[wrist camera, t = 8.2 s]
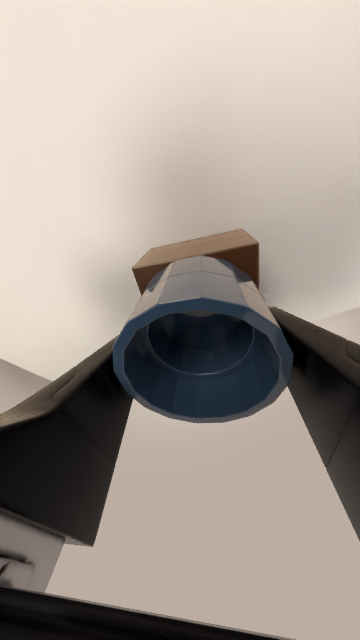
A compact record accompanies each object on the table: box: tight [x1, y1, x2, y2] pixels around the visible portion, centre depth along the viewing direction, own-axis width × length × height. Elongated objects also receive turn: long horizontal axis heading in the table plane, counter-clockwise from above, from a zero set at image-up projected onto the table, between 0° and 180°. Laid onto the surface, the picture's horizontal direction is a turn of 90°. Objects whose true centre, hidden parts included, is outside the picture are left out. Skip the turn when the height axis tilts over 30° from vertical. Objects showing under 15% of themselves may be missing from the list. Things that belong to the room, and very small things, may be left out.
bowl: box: [113, 256, 294, 423], centre depth 8 cm, size 6×6×4 cm
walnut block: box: [132, 229, 259, 295], centre depth 12 cm, size 6×6×4 cm
